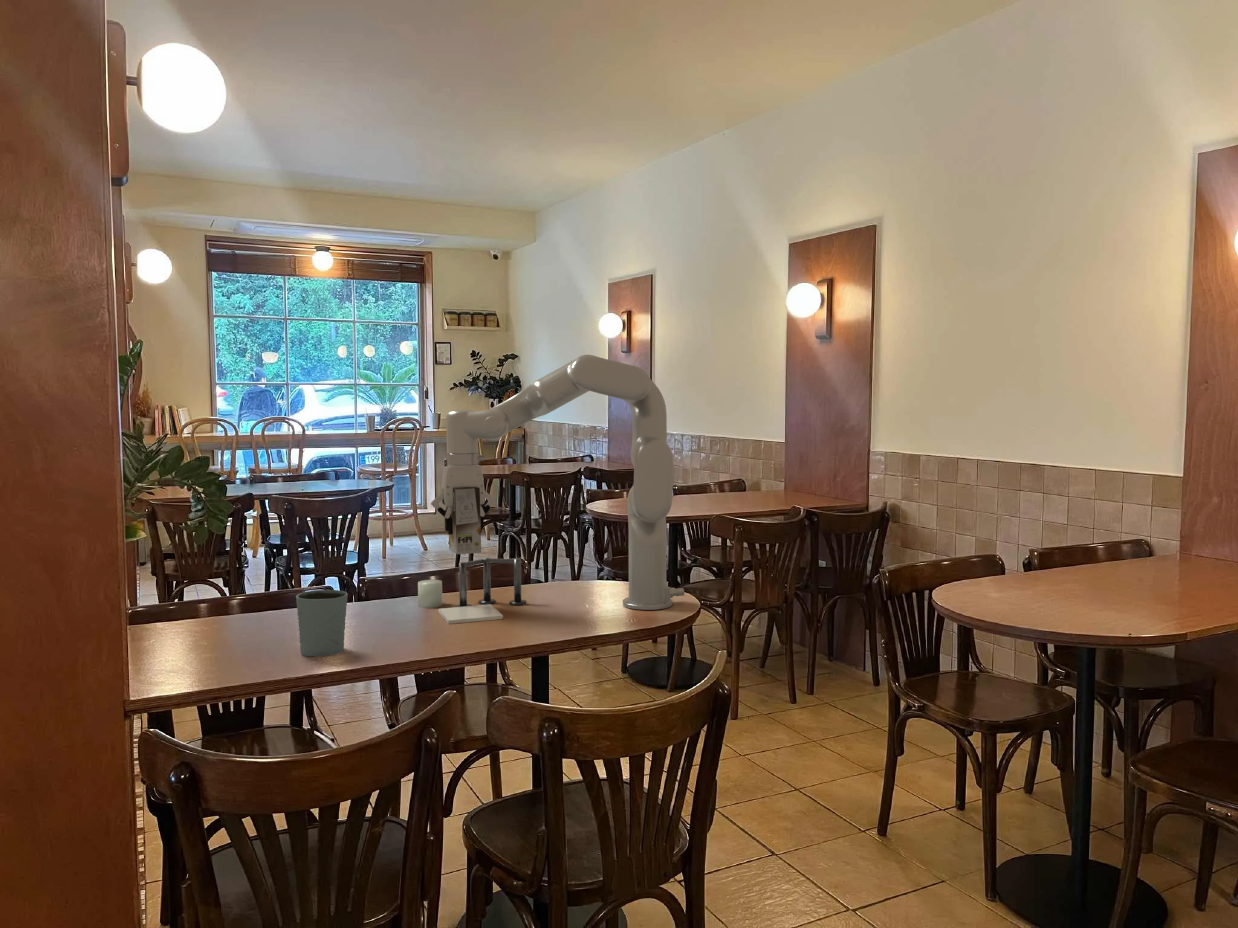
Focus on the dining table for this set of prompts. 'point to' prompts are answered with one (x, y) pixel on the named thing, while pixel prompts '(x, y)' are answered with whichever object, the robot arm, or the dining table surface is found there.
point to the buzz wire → (489, 581)
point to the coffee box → (465, 521)
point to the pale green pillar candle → (430, 593)
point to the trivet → (470, 614)
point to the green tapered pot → (321, 621)
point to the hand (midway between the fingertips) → (464, 532)
